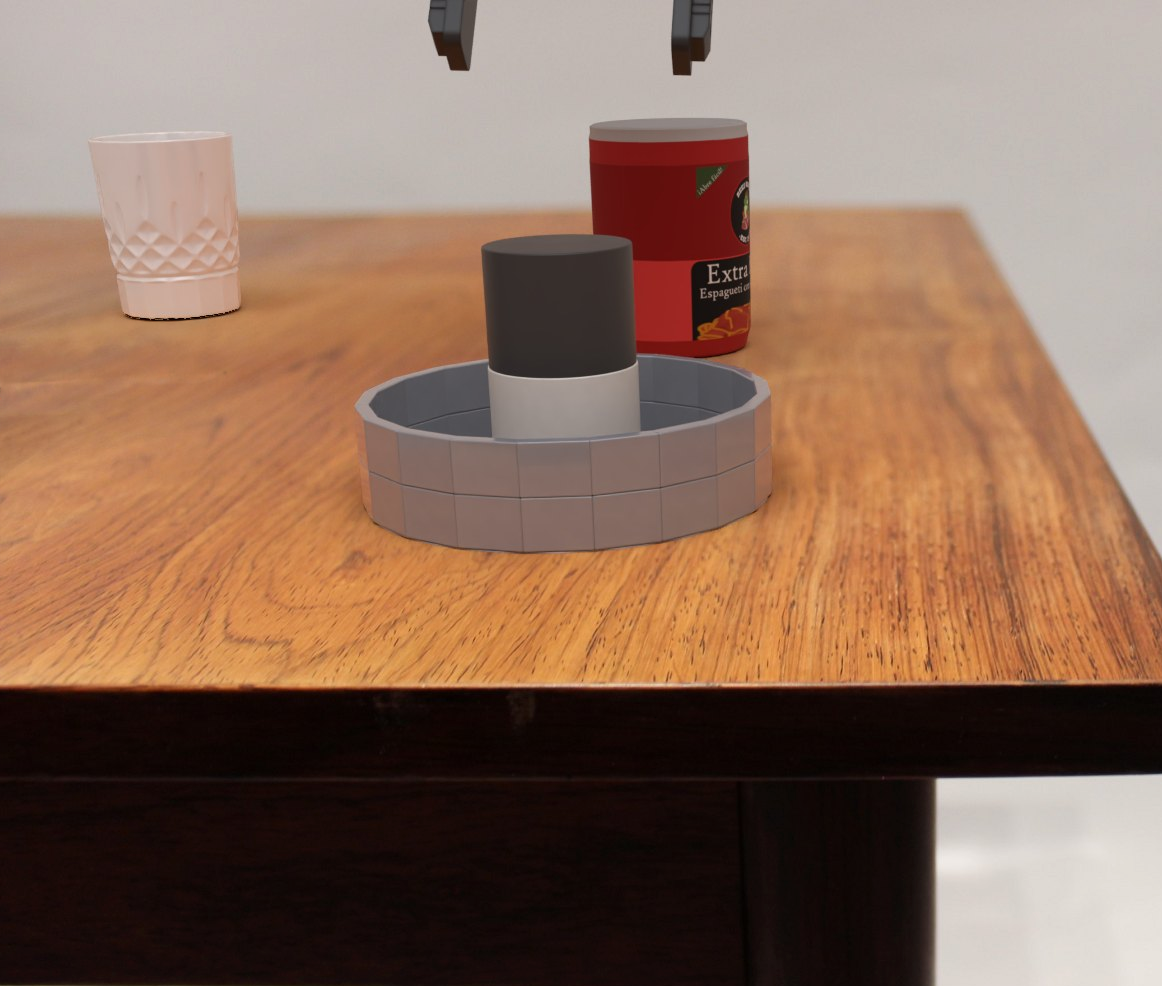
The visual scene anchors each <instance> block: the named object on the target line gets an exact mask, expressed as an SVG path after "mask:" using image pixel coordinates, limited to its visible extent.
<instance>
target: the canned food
mask: <svg viewBox="0 0 1162 986" xmlns="http://www.w3.org/2000/svg"><path fill="white" fill-rule="evenodd" d="M588 151H589V158H588V159H589V160H588V162H589V177H590V179H589V183H590V200H591V202H590V203H591V220H592V221H591V222H592V235H608V236H616V237H622V238H626V239H628V240H630V241H631V242H632V251H633V278H634V304H635V331H636V353H642V354H662V355H671V356H680V357H689V358H704V357H705V358H706V357H713V356H718V355H724V354H728V353H732V352H736V351H738V350H741V349H742V348H744V347H745V346H746V344H747V342H748V338H749V334H750V330H751V328H752V309H751V308H752V302H751V300H752V299H751V295H752V294H751V293H752V291H751V289H752V288H751V227H750V226H751V215H750V214H751V212H750V211H751V209H750V208H751V207H750V206H751V205H750V204H751V203H750V202H751V201H750V200H751V199H750V198H751V197H750V152H749V151H750V150H749V132H748V123H747V122H746V121H744V120H742V119H737V118H722V117H659V118H657V117H656V118H654V117H653V118H652V117H651V118H633V119H632V118H630V119H619V120H617V119H616V120H608V121H599V122H595V123H592V124H591V125H589V135H588Z"/></svg>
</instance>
